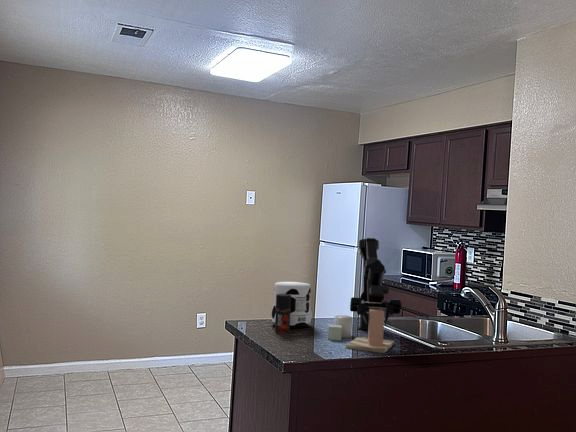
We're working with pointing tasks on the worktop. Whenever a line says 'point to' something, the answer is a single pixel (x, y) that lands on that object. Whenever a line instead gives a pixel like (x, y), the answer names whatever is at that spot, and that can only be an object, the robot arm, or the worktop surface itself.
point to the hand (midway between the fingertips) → (376, 324)
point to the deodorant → (282, 313)
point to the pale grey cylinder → (344, 324)
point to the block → (334, 332)
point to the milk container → (295, 302)
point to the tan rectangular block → (376, 327)
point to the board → (362, 344)
